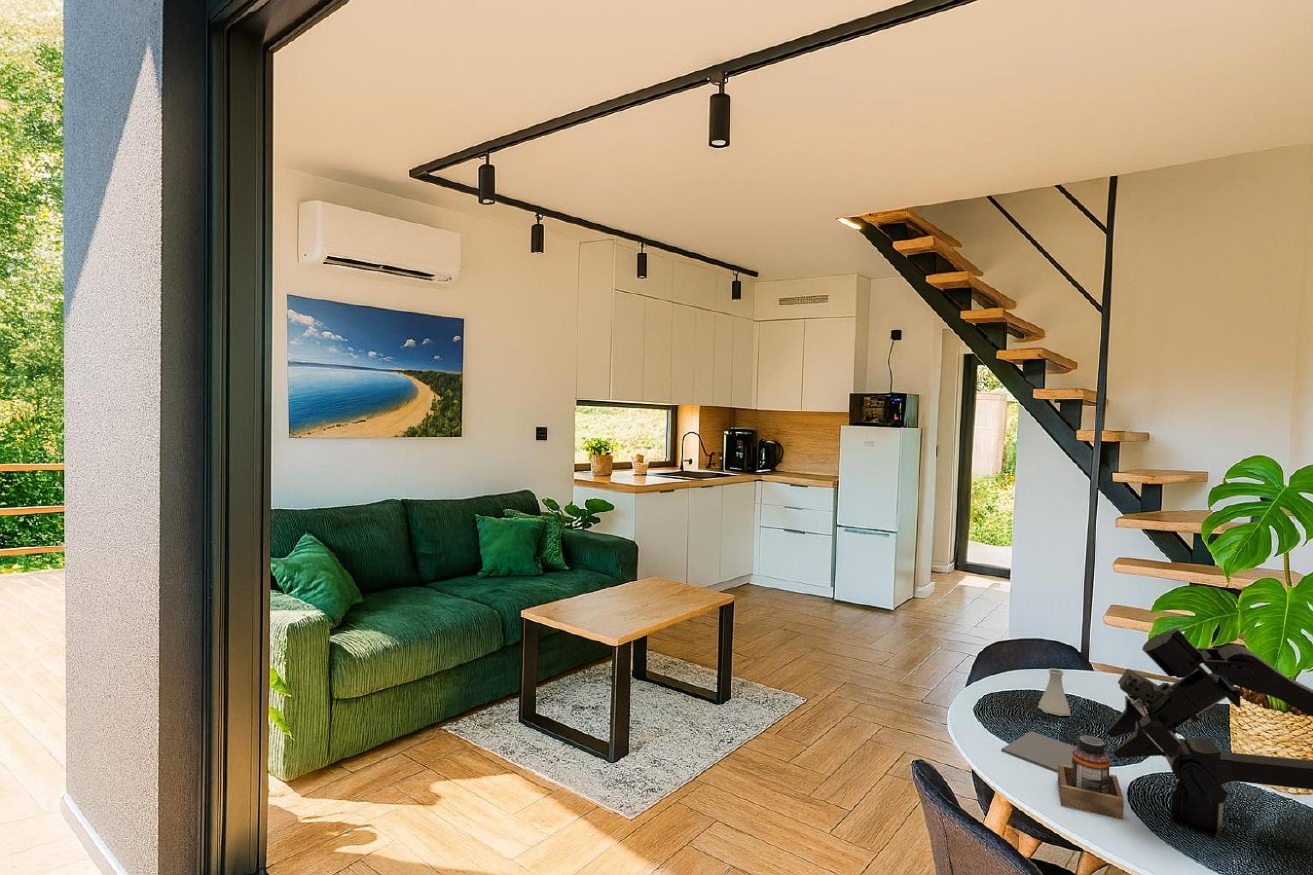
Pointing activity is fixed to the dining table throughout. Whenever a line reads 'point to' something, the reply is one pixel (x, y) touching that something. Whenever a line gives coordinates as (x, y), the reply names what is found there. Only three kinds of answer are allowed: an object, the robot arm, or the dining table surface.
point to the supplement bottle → (1090, 765)
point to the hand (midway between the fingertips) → (1111, 744)
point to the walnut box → (1090, 795)
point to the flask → (1054, 695)
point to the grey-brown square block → (1041, 751)
